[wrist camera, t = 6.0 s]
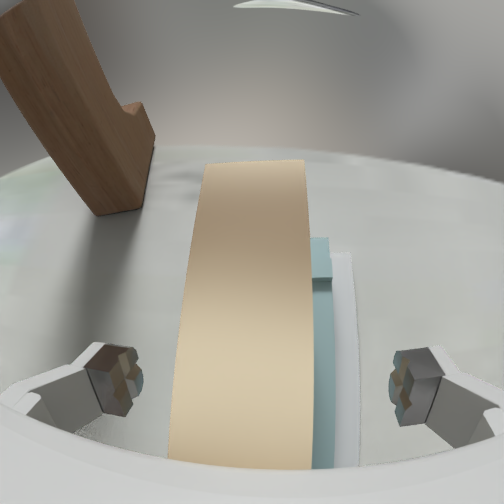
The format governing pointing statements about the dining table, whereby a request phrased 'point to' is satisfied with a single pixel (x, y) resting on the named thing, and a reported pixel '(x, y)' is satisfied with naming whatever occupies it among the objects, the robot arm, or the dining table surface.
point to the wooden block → (74, 105)
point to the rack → (334, 360)
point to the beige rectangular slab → (247, 323)
